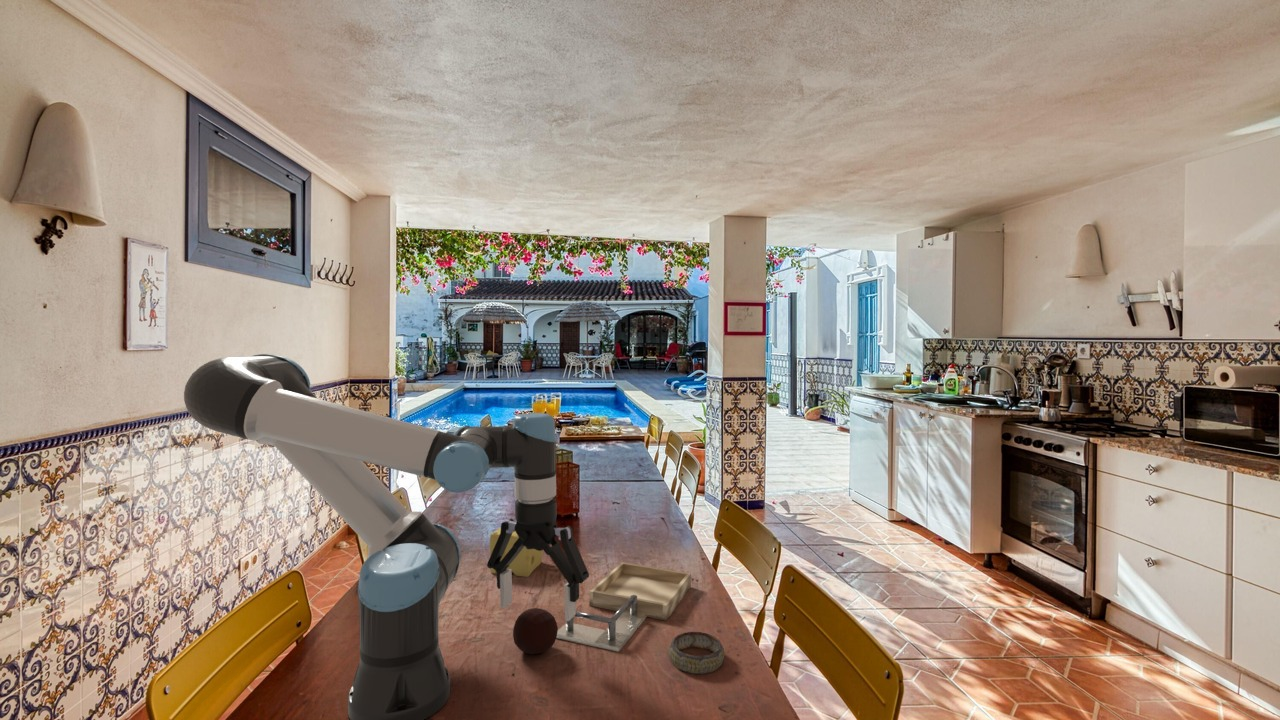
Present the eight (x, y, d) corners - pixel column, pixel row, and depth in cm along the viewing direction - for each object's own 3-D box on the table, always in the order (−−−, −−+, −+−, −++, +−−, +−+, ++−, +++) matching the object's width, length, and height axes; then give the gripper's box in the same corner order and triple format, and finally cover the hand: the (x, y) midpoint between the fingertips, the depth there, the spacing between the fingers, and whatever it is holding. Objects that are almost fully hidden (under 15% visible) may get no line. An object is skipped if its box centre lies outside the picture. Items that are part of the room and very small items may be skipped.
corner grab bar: (618, 651, 110) (618, 627, 110) (554, 637, 115) (554, 613, 114) (649, 614, 125) (649, 592, 124) (591, 602, 130) (591, 581, 129)
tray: (666, 620, 122) (666, 605, 122) (589, 605, 128) (589, 591, 128) (690, 586, 138) (691, 573, 138) (621, 575, 145) (621, 562, 145)
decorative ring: (736, 664, 107) (698, 640, 115) (736, 646, 106) (698, 624, 114) (693, 683, 100) (657, 657, 109) (694, 665, 100) (657, 640, 108)
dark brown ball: (535, 634, 116) (535, 595, 116) (568, 650, 110) (568, 610, 110) (501, 651, 110) (501, 610, 109) (534, 669, 104) (534, 626, 104)
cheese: (528, 578, 143) (528, 537, 142) (487, 574, 145) (487, 533, 144) (544, 561, 153) (544, 523, 152) (505, 558, 155) (505, 520, 155)
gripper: (606, 499, 108) (607, 613, 109) (491, 487, 117) (493, 592, 118) (587, 511, 101) (589, 633, 102) (466, 497, 110) (469, 609, 111)
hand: (537, 611), depth 110 cm, fingers open, 13 cm apart
